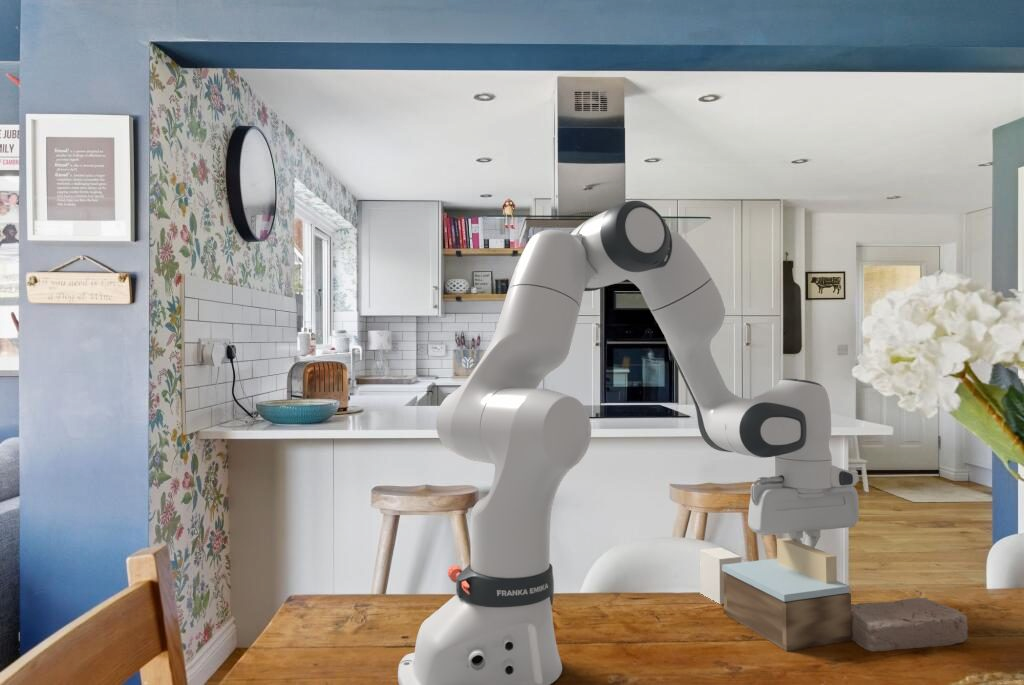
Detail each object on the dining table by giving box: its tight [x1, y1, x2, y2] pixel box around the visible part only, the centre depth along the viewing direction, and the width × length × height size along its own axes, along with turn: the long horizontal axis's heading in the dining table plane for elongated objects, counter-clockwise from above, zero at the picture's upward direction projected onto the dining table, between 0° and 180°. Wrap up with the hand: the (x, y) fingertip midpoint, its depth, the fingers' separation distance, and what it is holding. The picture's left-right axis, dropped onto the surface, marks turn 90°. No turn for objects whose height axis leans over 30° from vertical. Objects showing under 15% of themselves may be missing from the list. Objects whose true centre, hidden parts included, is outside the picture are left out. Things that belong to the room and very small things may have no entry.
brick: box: [851, 597, 969, 652], centre depth 102 cm, size 17×8×5 cm, turn 99°
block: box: [699, 547, 742, 604], centre depth 119 cm, size 4×6×8 cm
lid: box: [722, 537, 851, 602], centre depth 106 cm, size 12×15×5 cm
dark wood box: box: [723, 572, 853, 652], centre depth 106 cm, size 12×15×7 cm
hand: (804, 556), depth 112 cm, fingers closed
